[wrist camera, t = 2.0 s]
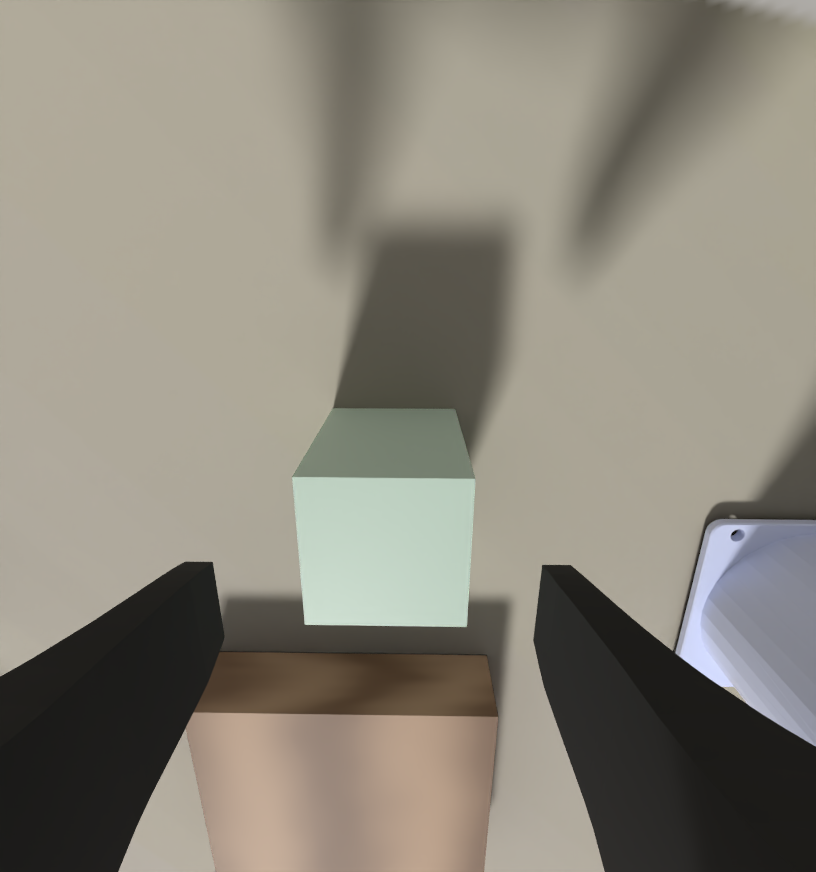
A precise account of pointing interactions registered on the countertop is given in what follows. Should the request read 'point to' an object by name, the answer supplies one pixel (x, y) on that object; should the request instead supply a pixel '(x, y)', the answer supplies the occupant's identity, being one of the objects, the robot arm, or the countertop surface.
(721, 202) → the countertop surface
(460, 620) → the sage block
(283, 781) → the walnut block
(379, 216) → the countertop surface
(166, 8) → the countertop surface
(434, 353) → the countertop surface
